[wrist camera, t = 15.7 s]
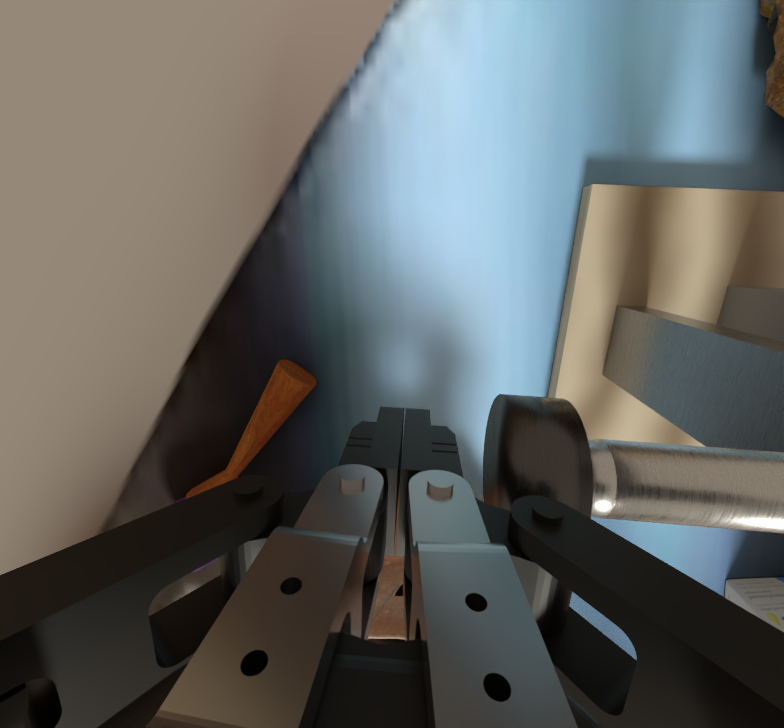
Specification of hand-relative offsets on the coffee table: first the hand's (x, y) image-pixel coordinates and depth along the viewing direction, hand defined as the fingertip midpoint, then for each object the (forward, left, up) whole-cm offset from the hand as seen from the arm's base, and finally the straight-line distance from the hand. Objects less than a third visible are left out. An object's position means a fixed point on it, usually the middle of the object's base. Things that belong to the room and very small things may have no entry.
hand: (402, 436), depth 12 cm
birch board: (+21, +1, -18) cm, 28 cm away
